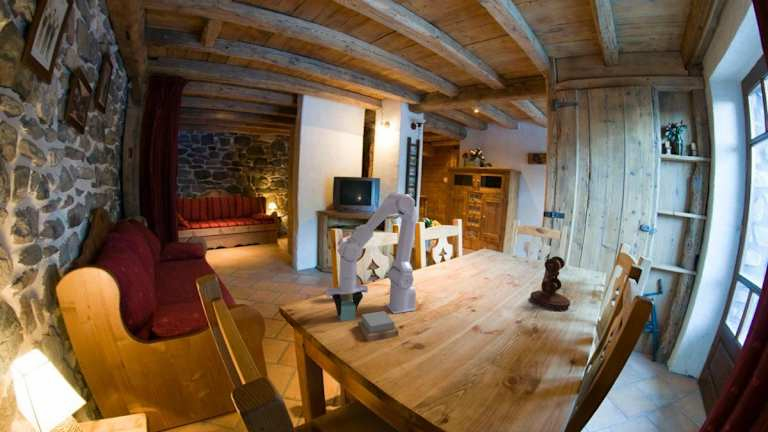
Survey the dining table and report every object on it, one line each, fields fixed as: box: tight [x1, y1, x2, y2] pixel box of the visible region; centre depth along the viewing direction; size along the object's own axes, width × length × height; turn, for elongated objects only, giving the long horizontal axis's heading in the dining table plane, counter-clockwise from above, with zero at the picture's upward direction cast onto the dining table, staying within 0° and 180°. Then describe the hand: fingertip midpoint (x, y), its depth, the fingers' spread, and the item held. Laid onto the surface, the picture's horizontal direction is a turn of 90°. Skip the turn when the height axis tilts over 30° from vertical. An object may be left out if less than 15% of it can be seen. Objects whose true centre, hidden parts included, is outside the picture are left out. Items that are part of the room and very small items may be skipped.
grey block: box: [361, 310, 395, 334], centre depth 98 cm, size 8×8×2 cm
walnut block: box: [357, 319, 399, 342], centre depth 98 cm, size 10×10×2 cm
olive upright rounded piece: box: [340, 294, 353, 301], centre depth 121 cm, size 6×6×11 cm
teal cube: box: [337, 300, 357, 322], centre depth 106 cm, size 5×5×5 cm
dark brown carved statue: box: [530, 255, 571, 312], centre depth 126 cm, size 15×15×20 cm
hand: (346, 313), depth 106 cm, fingers closed on teal cube, 5 cm apart
